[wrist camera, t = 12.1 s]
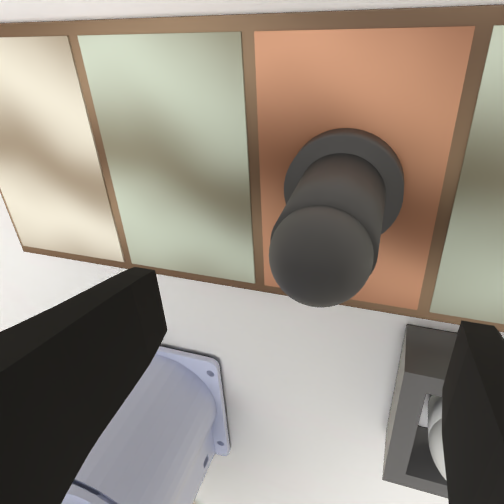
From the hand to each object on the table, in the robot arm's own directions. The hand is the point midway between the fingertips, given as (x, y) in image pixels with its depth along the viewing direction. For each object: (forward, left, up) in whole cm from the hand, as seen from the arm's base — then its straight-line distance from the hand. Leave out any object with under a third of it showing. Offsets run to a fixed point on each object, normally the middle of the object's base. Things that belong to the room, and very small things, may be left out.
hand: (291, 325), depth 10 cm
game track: (0, +4, -9) cm, 10 cm away
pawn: (0, 0, -8) cm, 8 cm away
